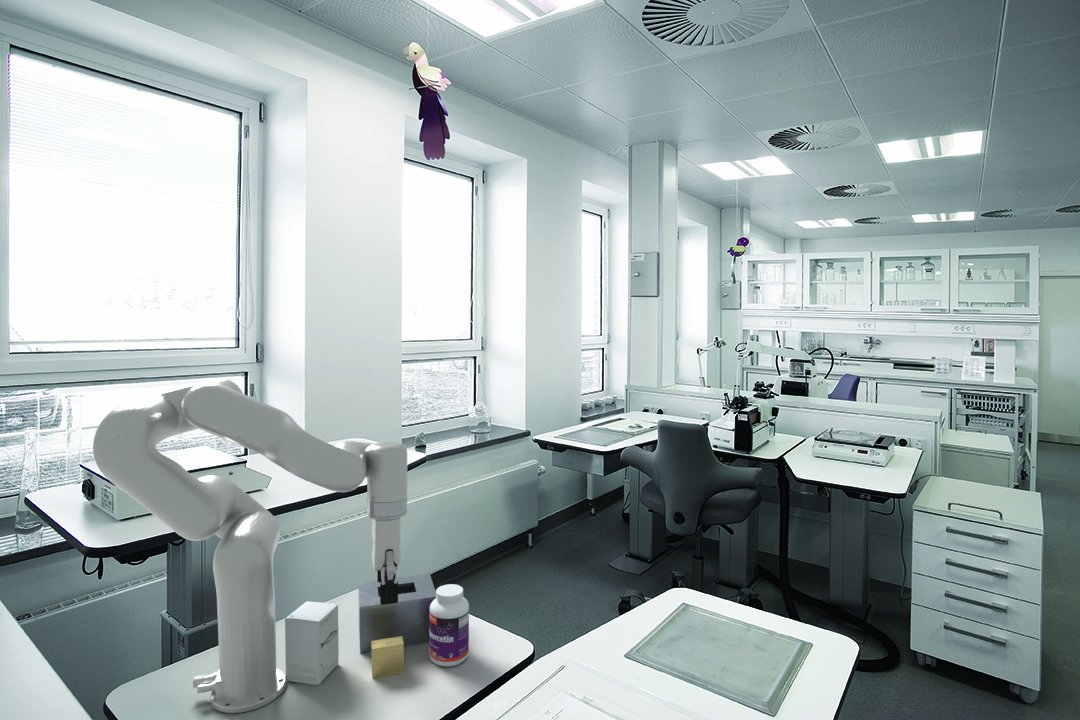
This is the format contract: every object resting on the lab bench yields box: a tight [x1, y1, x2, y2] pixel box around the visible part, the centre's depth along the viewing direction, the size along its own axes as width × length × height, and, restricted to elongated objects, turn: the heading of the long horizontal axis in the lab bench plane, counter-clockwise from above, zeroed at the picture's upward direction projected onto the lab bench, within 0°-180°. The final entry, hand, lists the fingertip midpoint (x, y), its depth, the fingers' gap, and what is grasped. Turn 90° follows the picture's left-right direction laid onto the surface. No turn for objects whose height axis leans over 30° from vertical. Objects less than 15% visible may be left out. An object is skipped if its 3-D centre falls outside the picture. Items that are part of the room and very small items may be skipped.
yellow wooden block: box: [370, 636, 405, 679], centre depth 117 cm, size 6×3×6 cm, turn 108°
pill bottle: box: [428, 583, 470, 667], centre depth 121 cm, size 8×8×14 cm
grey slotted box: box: [357, 573, 436, 654], centre depth 131 cm, size 16×12×10 cm
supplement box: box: [284, 600, 340, 686], centre depth 116 cm, size 7×7×13 cm
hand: (387, 591), depth 116 cm, fingers open, 9 cm apart
